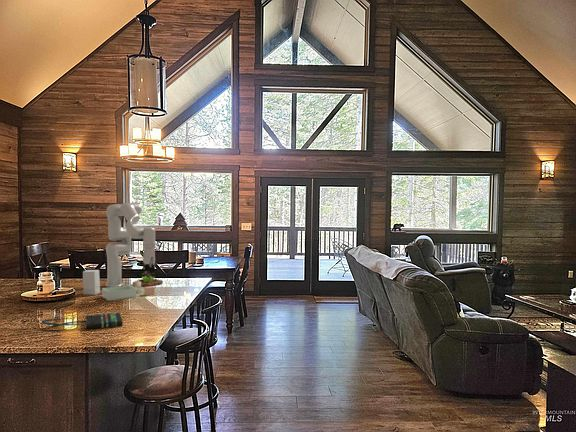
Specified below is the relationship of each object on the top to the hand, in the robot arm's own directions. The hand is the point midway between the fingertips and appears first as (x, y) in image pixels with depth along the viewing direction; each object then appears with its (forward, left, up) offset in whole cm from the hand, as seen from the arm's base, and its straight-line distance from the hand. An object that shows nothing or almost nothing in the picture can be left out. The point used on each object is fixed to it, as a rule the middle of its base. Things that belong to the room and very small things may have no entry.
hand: (149, 272), depth 270 cm
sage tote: (-4, -18, -15) cm, 24 cm away
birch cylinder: (-12, -4, -15) cm, 20 cm away
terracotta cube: (0, 0, -15) cm, 15 cm away
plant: (-35, +11, -16) cm, 40 cm away
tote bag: (+48, -50, -16) cm, 71 cm away
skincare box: (-24, -30, -15) cm, 42 cm away
